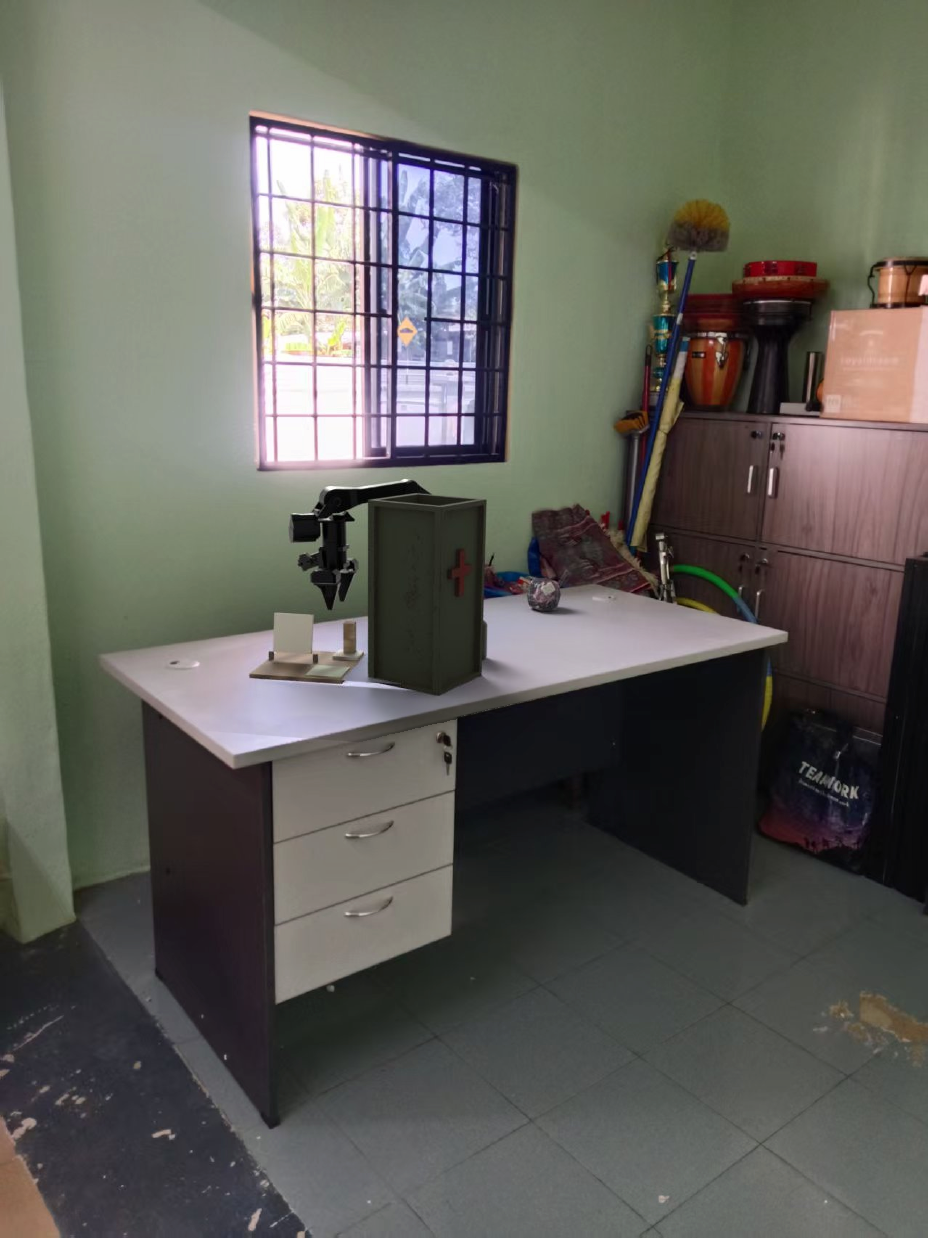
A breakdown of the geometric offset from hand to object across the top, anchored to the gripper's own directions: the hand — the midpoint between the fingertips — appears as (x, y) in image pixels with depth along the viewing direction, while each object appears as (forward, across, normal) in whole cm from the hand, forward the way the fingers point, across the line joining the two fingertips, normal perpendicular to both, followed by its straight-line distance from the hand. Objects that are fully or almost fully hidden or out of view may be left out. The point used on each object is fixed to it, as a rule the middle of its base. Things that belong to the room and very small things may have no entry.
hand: (336, 605), depth 233 cm
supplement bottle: (+13, -6, +32) cm, 35 cm away
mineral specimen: (+14, -65, +43) cm, 79 cm away
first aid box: (+13, +13, +25) cm, 31 cm away
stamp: (+11, +4, +4) cm, 13 cm away
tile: (+5, +10, -7) cm, 13 cm away
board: (+12, +12, -3) cm, 17 cm away
